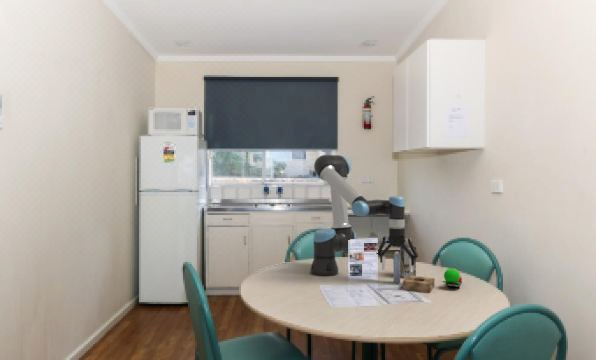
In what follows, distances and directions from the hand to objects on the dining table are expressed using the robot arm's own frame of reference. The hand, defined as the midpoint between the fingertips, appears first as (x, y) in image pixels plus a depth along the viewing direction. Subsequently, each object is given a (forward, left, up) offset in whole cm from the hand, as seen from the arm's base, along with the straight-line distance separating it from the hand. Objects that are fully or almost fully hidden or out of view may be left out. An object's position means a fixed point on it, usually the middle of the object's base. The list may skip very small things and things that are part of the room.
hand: (397, 270), depth 208 cm
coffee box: (+2, +15, -6) cm, 16 cm away
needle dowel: (0, 0, -6) cm, 6 cm away
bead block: (+12, -6, -6) cm, 14 cm away
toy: (+26, +5, -6) cm, 27 cm away
